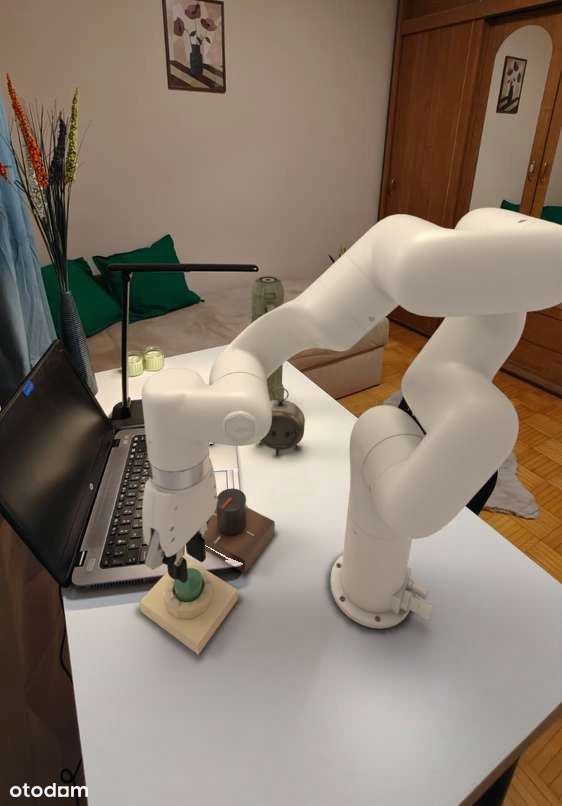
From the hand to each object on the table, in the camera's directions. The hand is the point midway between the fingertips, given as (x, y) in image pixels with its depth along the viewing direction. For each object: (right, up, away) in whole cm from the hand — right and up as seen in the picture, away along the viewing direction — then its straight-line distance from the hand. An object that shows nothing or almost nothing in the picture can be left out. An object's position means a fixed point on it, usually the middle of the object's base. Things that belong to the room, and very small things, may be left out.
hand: (187, 565), depth 63 cm
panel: (+5, -3, +14) cm, 16 cm away
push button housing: (0, -8, +3) cm, 8 cm away
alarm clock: (+13, +5, +36) cm, 39 cm away
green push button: (0, -4, +2) cm, 5 cm away
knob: (+5, -1, +13) cm, 14 cm away
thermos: (+10, +10, +51) cm, 53 cm away
